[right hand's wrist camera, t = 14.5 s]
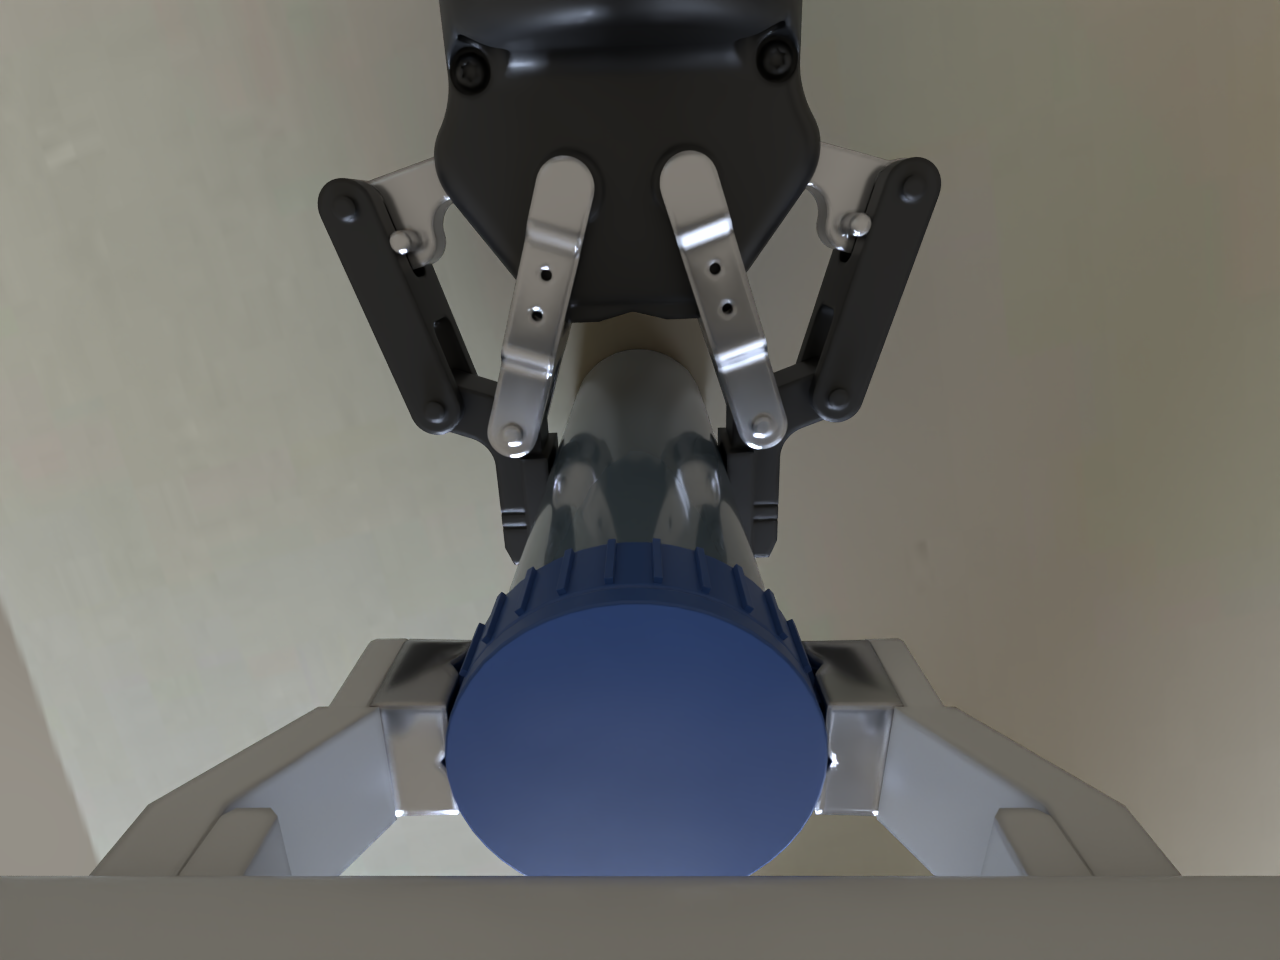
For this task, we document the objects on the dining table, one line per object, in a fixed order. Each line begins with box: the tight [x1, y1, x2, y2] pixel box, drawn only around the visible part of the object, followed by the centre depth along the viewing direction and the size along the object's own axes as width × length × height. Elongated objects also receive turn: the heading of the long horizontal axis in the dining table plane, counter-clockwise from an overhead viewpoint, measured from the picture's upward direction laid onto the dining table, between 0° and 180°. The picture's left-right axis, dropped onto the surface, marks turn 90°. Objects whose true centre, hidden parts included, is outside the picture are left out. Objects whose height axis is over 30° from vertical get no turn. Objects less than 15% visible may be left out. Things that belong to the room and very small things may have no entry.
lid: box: [445, 538, 828, 876], centre depth 10 cm, size 5×5×2 cm
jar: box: [509, 349, 766, 592], centre depth 17 cm, size 4×4×16 cm
